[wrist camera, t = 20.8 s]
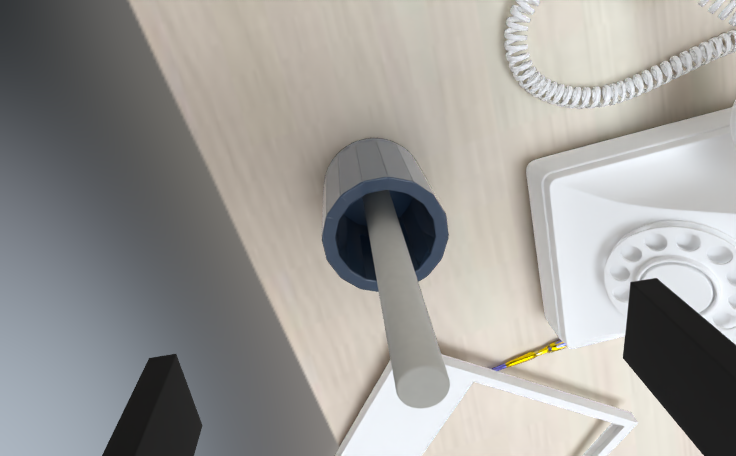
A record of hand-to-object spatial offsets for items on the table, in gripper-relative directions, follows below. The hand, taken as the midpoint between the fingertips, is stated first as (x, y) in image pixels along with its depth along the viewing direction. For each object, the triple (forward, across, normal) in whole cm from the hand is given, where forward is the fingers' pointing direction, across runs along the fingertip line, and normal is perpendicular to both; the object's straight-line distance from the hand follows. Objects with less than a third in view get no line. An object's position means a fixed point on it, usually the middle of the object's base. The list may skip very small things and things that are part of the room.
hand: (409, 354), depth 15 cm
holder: (+16, 0, 0) cm, 16 cm away
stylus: (+15, 0, 0) cm, 15 cm away
